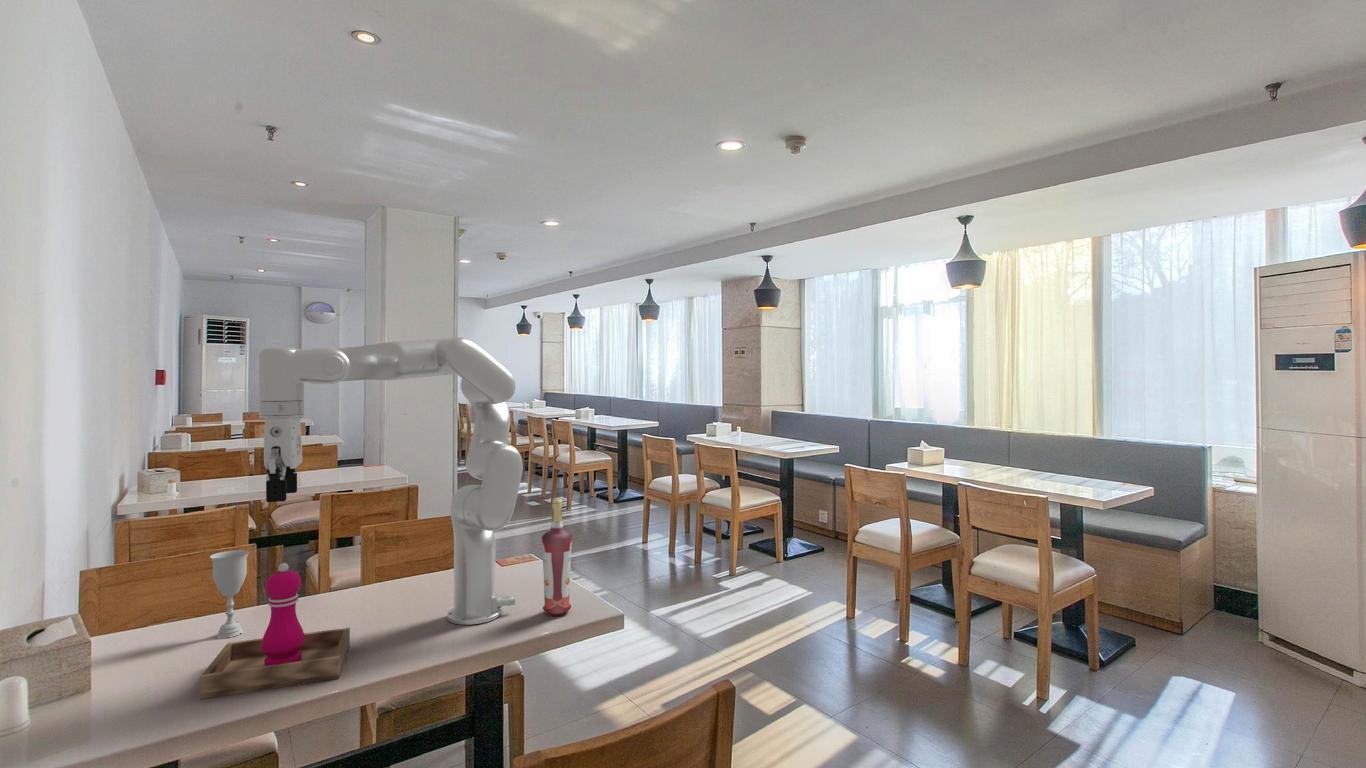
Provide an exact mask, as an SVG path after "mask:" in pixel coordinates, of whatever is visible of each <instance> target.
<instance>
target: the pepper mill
mask: <svg viewBox="0 0 1366 768" xmlns="http://www.w3.org/2000/svg"><path fill="white" fill-rule="evenodd" d="M289 568H290V567H289V564H288V563H286V562H283V563H280V564H279V565H278V567H277V569H278V570H277V572H274V573H272V574H271V575H270V576H269V577H268V578H267V580H266V581H265V585H264V586H265V592H266V594H267V595H268V596H269V597H268V604H267V605H268V606H269V607H270V619H269V623H268V625H267V628H266V630H265V632H264V634H263V637H262V638H263V640H262V646H261V649H262V651H263V653H264V654H266V655H267V657H266V658H265V659H264V666H268V665H276V664H283V663H290V662H298V661H302V652H301V651H300V650H299V649H300V648H301V647H302V645H303V644H304V641H305V638H304V633H305V632H304V629H303V627H302V626H301V624H300V621H299V619H298V616H297V611H296V607H297V606H296V605H297V602H299V598H298V597H299V594H298V593H297V592H298V591H299V590H300V588H302V587H301V586H302V578H301V576H300V574H299V573H298V572H296V571H294V570H291V569H290V570H289Z"/></svg>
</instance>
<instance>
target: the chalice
mask: <svg viewBox="0 0 1366 768" xmlns="http://www.w3.org/2000/svg"><path fill="white" fill-rule="evenodd" d="M249 554H250V550H246V549H236V550H227V551H226V550H225V551H221V552H218V553H217V552H216V553H214V554H211V555H210V556H209V558H210V559H211V561H212V579H213V582H214V583H215V586H216V588H217V589H218V591H219V592H220V594H221V595H222V596H225V597H226V599H227V600H226V604H225V606H226V608H227V610H226V612H225V613H224V614H225V615H226V618H227V619H226V621H225V622H224V623H223V624H222V625H221V626H220V627H219V630H218V632H217V634H216V636H218V637H219V638H218V639H220V638H224V639H227V638H226V637H231V638H233V637H232V636H235V637H237V636H236V635H238V636H240V635H239V634H240V633H242V632H243V631H244V629H243V627H242V626H241V624H240V623H239V622H238V621H235V619H234V614H235V613H236V611H235V609H234V605H235V602H234V600H233V599H234V596H235V595H236V594H238V593H239V591H240V589H241V588H242V586H243V584H244V582H245V580H246V577H247V574H248V570H247V569H248V564H247V563H248V562H247V561H248V560H247V559H248V556H249ZM243 633H244V632H243ZM243 633H242V634H243Z"/></svg>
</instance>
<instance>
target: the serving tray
mask: <svg viewBox="0 0 1366 768" xmlns="http://www.w3.org/2000/svg"><path fill="white" fill-rule="evenodd" d="M304 638H305V641H304V644H303V645H302V647H301V648H300V649H299V650H300V651H301V652H302V661H298V662H290V663H283V664H276V665H268V666H264V659H265V658H266V657H267V655H266V654H264V653H263V651H262V649H261V646H262V640H263V637H262V638H255V639H254V638H253V639H247V640H239V641H230V642H229V641H228V642H227V643H226V644H225V646H224V647H223V648H222V649H221V650H220V651H219V653H218V654H217V655H216V657H215V658H214V659H213V661H212V662H211V663H210V664H209V665H208V667H207V668H205V670H204V672H203V673H202V674H201V675H200V677H199V699H200V700H204V699H211V698H213V699H214V698H218V697H226V696H232V695H237V694H239V695H240V694H245V693H251V692H259V691H265V690H271V689H279V688H286V687H293V686H297V684H300V685H304V684H303V683H307V684H313V683H319V682H326V681H334V680H340V676H341V674H342V671H343V668H344V664H345V661H346V659H347V656H348V653H349V650H350V647H351V639H350V638H351V627H343V628H336V629H328V630H327V629H326V630H320V631H312V632H304ZM333 679H334V680H333ZM292 685H293V686H292Z"/></svg>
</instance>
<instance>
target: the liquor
mask: <svg viewBox="0 0 1366 768" xmlns="http://www.w3.org/2000/svg"><path fill="white" fill-rule="evenodd" d="M562 509H563V498H562V497H561V498H560V497H555V498H554V497H553V498H551V511H552V515H551V524H550V530H548V531H547V532H545V533H544V534H543V535H542V536H541V549H542V551H541V552H542V568H543V569H542V570H543V590H544V591H543V593H544V605H543V606H542V610H543V611H544V612H545V613H546V614H547V615H549V616H551V617H559V616H563V615H565V614H567V612H569V610H570V609H571V608H572V605H571V603H570V592H571V591H570V588H571V568H572V567H571V564H572V545H573V544H572V543H573V542H572V541H573V534H571V533H570V532H569V531H567V530H565V529H564V525H563V514H562V511H563V510H562Z"/></svg>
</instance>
